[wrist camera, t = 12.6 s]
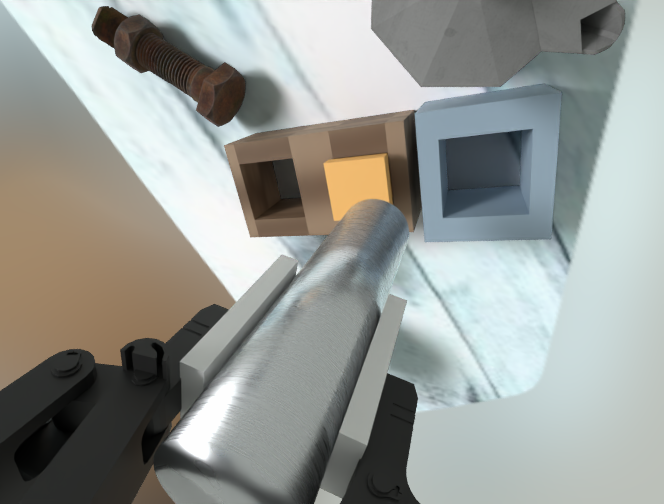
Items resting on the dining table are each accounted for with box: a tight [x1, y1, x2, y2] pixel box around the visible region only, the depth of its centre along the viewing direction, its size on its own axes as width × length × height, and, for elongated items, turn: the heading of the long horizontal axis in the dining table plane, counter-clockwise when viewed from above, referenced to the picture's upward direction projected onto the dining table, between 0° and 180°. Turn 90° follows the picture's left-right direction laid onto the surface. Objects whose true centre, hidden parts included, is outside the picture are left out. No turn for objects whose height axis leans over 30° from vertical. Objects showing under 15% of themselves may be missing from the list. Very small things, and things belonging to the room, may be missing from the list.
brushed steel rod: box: [153, 199, 409, 504], centre depth 16 cm, size 4×4×16 cm
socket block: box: [224, 110, 422, 237], centre depth 35 cm, size 9×16×6 cm, turn 101°
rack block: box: [415, 84, 562, 242], centre depth 30 cm, size 10×9×7 cm
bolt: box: [92, 6, 245, 127], centre depth 36 cm, size 6×5×15 cm
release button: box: [323, 152, 393, 221], centre depth 32 cm, size 5×5×7 cm
